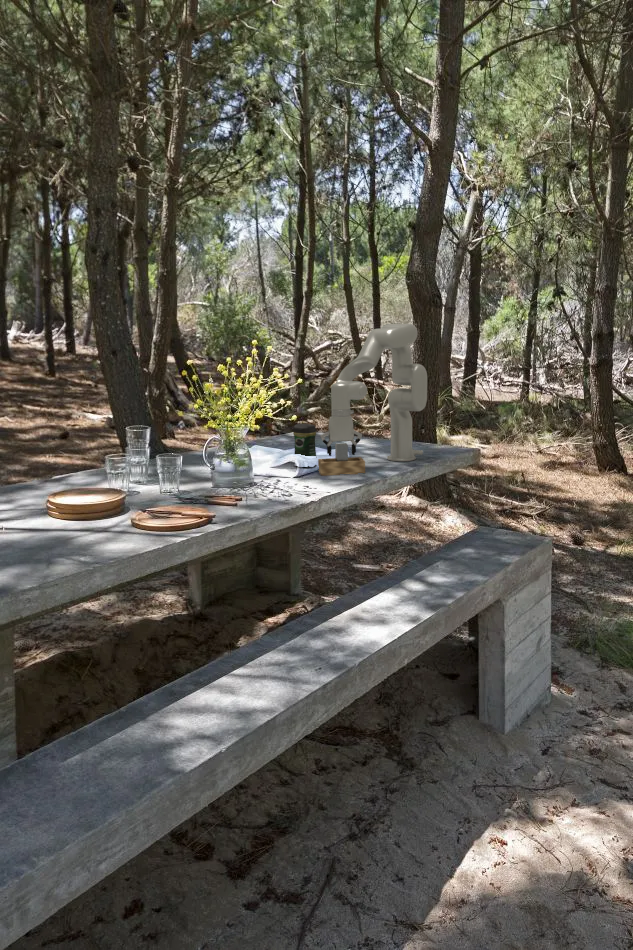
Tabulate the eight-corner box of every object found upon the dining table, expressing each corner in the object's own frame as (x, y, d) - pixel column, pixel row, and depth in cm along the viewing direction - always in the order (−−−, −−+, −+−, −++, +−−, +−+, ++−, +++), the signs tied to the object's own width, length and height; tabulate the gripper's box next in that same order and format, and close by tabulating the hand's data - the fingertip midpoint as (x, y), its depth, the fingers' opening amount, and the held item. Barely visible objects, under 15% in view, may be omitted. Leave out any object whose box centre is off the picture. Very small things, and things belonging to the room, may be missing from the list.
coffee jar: (320, 466, 350) (319, 423, 346) (307, 469, 344) (306, 425, 340) (303, 464, 356) (302, 421, 352) (291, 466, 350) (289, 424, 347)
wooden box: (360, 469, 341) (360, 457, 340) (365, 473, 331) (365, 461, 330) (318, 471, 338) (318, 458, 337) (321, 475, 329) (321, 462, 328)
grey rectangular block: (346, 469, 337) (346, 443, 335) (348, 471, 333) (347, 444, 331) (335, 469, 337) (335, 443, 335) (337, 471, 332) (336, 445, 330)
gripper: (360, 411, 335) (360, 452, 338) (318, 413, 333) (319, 454, 336) (363, 413, 328) (364, 455, 331) (321, 415, 326) (322, 457, 329)
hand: (341, 455), depth 334 cm, fingers open, 9 cm apart
